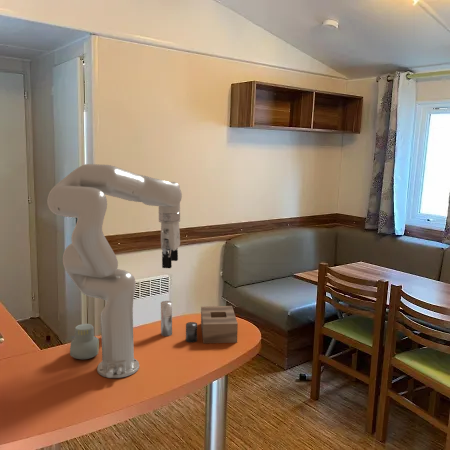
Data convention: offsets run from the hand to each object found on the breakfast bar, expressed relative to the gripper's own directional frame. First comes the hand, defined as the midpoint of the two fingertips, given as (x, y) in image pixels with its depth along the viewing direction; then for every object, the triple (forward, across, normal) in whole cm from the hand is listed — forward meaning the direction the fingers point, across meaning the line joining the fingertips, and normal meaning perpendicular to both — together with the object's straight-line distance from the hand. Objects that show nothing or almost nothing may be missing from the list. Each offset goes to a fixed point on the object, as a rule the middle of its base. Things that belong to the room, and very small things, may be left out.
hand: (170, 264), depth 169 cm
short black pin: (+26, -6, -9) cm, 28 cm away
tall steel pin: (+26, -2, +2) cm, 26 cm away
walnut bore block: (+26, +2, -17) cm, 31 cm away
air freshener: (+26, -23, +23) cm, 42 cm away
